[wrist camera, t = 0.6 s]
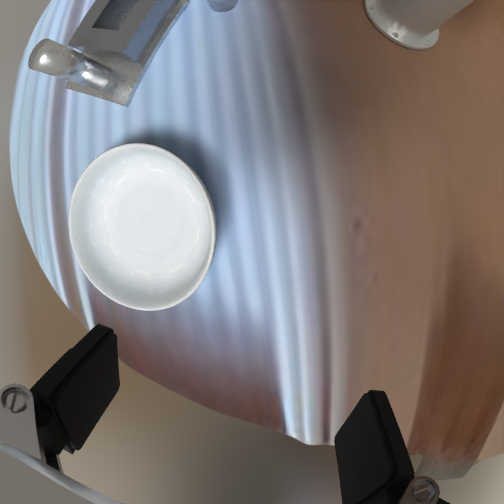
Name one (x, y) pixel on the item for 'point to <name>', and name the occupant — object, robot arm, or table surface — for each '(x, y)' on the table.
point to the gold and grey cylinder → (222, 5)
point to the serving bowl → (142, 226)
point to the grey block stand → (110, 47)
